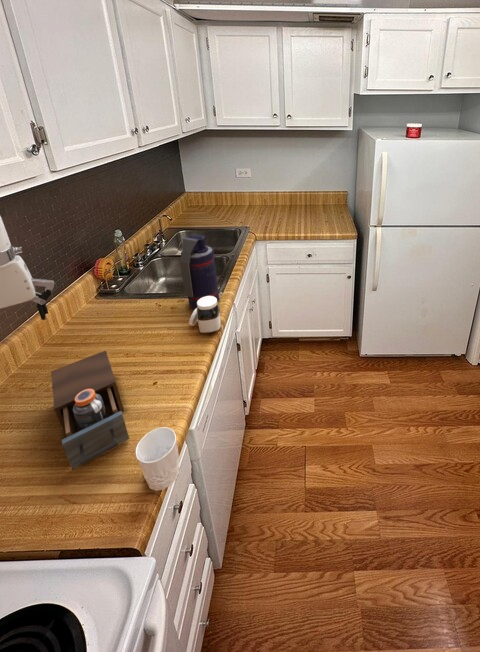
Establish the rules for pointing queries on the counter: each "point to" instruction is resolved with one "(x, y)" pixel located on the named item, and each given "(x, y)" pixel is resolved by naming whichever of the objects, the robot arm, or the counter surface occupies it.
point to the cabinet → (82, 382)
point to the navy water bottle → (198, 269)
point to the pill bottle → (88, 408)
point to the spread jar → (206, 315)
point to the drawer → (93, 433)
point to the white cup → (158, 458)
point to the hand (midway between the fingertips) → (17, 325)
